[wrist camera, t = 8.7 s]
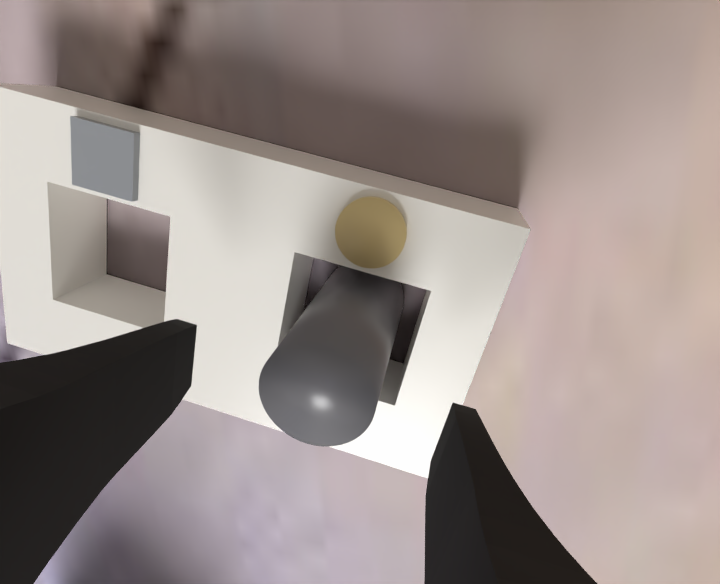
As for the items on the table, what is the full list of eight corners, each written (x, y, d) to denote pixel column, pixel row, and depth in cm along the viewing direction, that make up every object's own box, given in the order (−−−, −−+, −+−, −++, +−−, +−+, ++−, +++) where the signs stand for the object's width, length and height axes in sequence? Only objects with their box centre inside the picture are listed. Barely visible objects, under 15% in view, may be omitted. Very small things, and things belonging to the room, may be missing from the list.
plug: (319, 322, 19) (252, 427, 13) (332, 251, 18) (265, 328, 12) (394, 342, 19) (362, 459, 13) (412, 270, 18) (388, 361, 11)
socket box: (63, 313, 22) (0, 346, 19) (55, 86, 18) (-27, 81, 15) (436, 429, 20) (432, 486, 17) (518, 208, 16) (532, 231, 13)
